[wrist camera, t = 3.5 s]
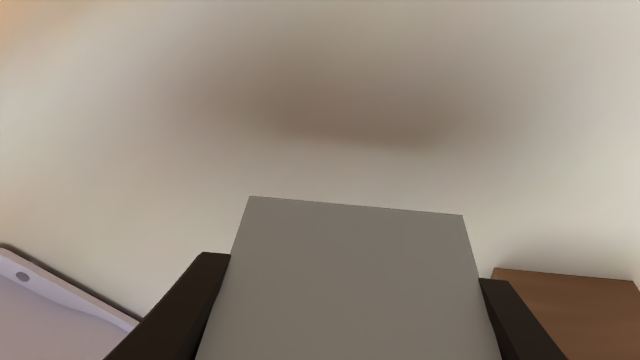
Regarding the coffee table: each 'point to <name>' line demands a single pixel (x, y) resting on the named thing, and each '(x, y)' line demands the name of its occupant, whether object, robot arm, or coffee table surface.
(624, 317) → the domino
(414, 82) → the coffee table surface
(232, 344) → the domino
